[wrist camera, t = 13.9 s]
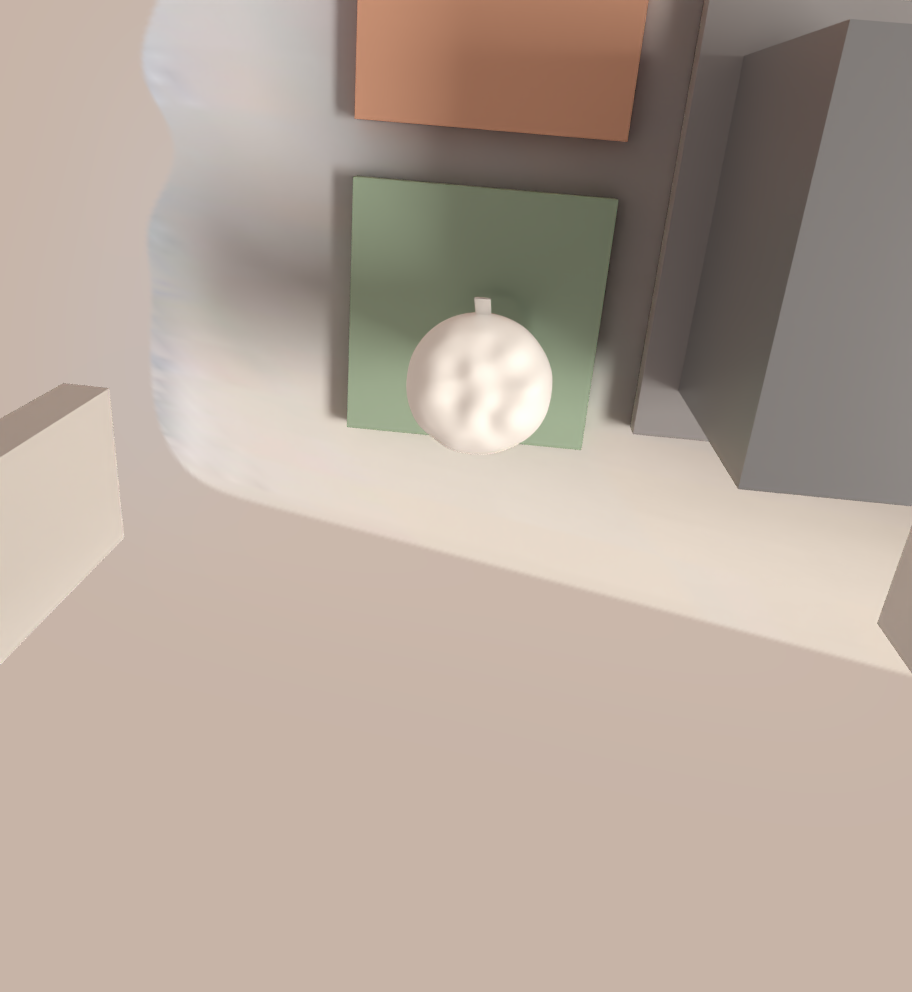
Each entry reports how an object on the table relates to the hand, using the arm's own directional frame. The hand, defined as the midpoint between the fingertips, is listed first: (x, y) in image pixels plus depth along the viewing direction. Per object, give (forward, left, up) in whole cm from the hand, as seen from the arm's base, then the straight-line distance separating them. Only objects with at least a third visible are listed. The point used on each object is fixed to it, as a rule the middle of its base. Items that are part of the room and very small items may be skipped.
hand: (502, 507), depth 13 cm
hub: (-3, +10, -21) cm, 24 cm away
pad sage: (+1, -1, -21) cm, 21 cm away
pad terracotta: (-11, -1, -21) cm, 24 cm away
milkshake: (+1, -1, -21) cm, 21 cm away
